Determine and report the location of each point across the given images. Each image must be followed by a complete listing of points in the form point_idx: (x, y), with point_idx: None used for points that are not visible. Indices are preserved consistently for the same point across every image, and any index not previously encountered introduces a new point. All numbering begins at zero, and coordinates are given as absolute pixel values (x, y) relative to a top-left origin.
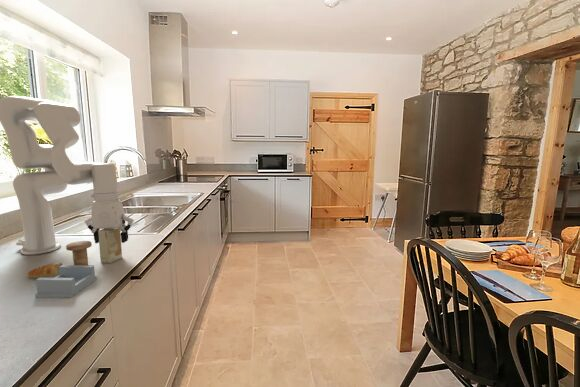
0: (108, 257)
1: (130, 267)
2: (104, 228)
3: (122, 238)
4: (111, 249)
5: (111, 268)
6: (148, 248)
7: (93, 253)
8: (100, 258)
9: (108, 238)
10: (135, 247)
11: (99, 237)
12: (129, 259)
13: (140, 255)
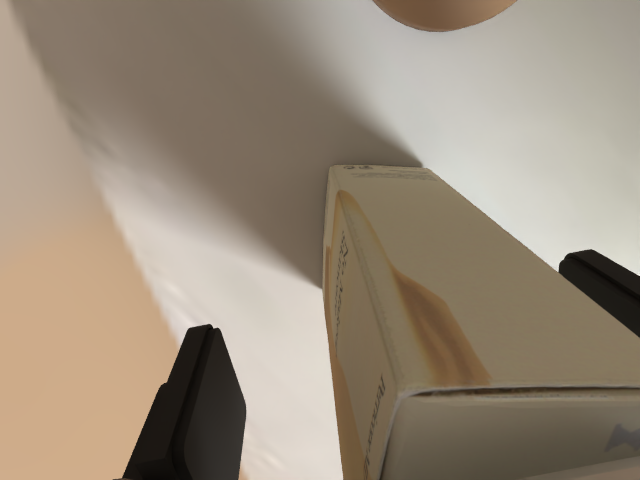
0: (346, 177)
1: (83, 124)
2: (561, 471)
3: (176, 368)
4: (338, 236)
5: (234, 66)
6: (258, 460)
7: None
8: (437, 177)
9: (365, 284)
10: None
11: (562, 288)
12: (235, 272)
13: None
